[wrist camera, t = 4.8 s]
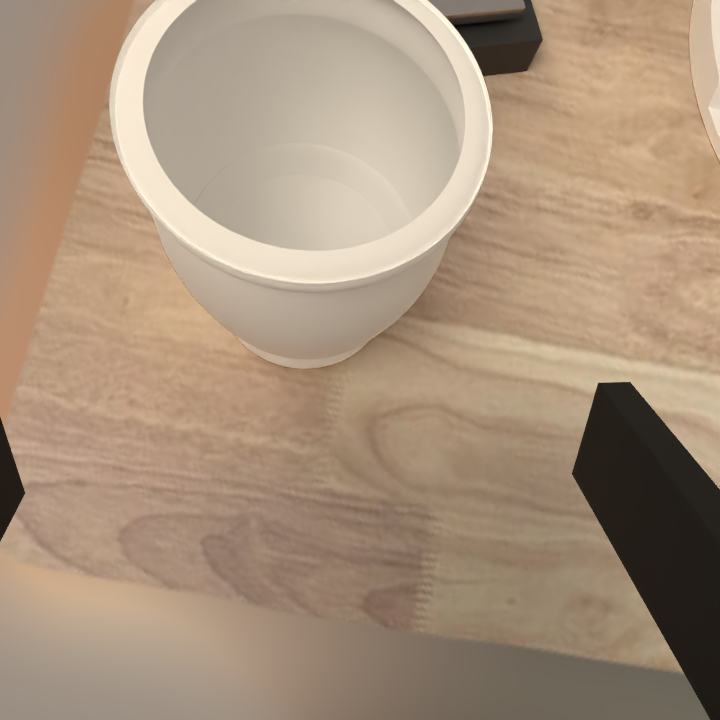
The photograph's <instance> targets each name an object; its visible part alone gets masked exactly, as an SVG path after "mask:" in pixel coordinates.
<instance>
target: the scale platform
mask: <svg viewBox="0 0 720 720" xmlns="http://www.w3.org/2000/svg"><path fill="white" fill-rule="evenodd" d="M428 1H429V2H430V3H431V4H432V5H433V6H435V7H436V8H437V9H438V10H439V11H440V12H441V13H442V14H443V15H444V16H445V17H446V18H447V19H448V20H449V22H450V23H451V24H452V25H458V24H468V23H478V22H488V21H498V20H508V19H518V18H521V16H522V14H523V12H524V9H525V3H524V0H428Z"/></svg>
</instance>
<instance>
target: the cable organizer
mask: <svg viewBox="0 0 720 720" xmlns="http://www.w3.org/2000/svg"><path fill="white" fill-rule="evenodd" d="M689 48H690V65H691V72H692V80H693V86H694V90H695V94H696V99H697V103H698V107H699V111H700V114H701V117H702V120H703V123H704V125H705V128H706V131H707V134H708V137H709V139H710V141H711V143H712V146H713V148H714V150H715V153H716V155H717V157H718V159H719V161H720V0H694V1H693V6H692V12H691V20H690V33H689Z"/></svg>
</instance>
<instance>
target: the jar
mask: <svg viewBox="0 0 720 720" xmlns="http://www.w3.org/2000/svg"><path fill="white" fill-rule="evenodd" d="M109 110H110V123H111V130H112V135H113V140H114V144H115V147H116V151H117V154H118V156H119V159H120V162H121V164H122V166H123V169H124V171H125V173H126V175H127V177H128V179H129V181H130V182H131V184H132V186H133V188H134V190H135V192H136V193H137V195H138V197H139V198H140V200H141V201H142V203H143V205H144V206H145V207H146V209H147V210H148V212H149V213H150V214H151V216H152V217H153V218H154V222H155V225H156V229H157V232H158V235H159V237H160V240H161V243H162V245H163V248H164V250H165V252H166V254H167V256H168V259H169V261H170V262H171V264H172V266H173V268H174V270H175V272H176V273H177V275H178V276H179V278H180V280H181V281H182V283H183V284H184V285H185V287H186V288H187V290H188V291H189V292H190V293H191V295H192V296H193V297H194V298H195V300H196V301H197V302H198V303H199V304H200V305H201V306H202V307H203V308H204V309H205V310H206V311H207V312H208V313H209V314H210V315H211V316H212V317H213V318H214V319H215V320H217V321H218V322H219V323H220V324H222V325H223V326H224V327H226V328H227V329H228V330H230V331H231V332H232V333H233V334H234V335H235V337H236V338H237V339H238V340H239V341H240V342H241V343H242V344H243V345H244V346H245V347H246V348H248V349H249V350H250V351H251V352H253V353H254V354H256V355H258V356H259V357H261V358H263V359H265V360H267V361H269V362H272V363H274V364H277V365H281V366H285V367H290V368H298V369H313V368H321V367H325V366H329V365H333V364H336V363H338V362H341V361H343V360H345V359H347V358H349V357H350V356H352V355H353V354H355V353H356V352H358V351H359V350H360V349H361V348H362V347H364V346H365V345H366V344H367V342H368V341H369V340H370V339H372V338H373V337H375V336H376V335H378V334H380V333H381V332H383V331H384V330H385V329H387V328H388V327H389V326H391V325H392V324H393V323H395V322H396V321H397V320H398V319H399V318H400V317H401V316H402V315H403V314H404V313H405V312H406V311H407V310H408V309H409V308H410V307H411V306H412V305H413V304H414V303H415V302H416V300H417V299H418V298H419V297H420V295H421V294H422V293H423V291H424V290H425V288H426V287H427V285H428V284H429V282H430V281H431V279H432V277H433V275H434V274H435V272H436V270H437V268H438V266H439V264H440V262H441V260H442V257H443V255H444V253H445V250H446V247H447V245H448V242H449V239H450V237H451V236H452V235H453V233H454V232H455V231H456V230H457V228H458V227H459V226H460V224H461V223H462V222H463V220H464V219H465V217H466V216H467V214H468V213H469V211H470V209H471V208H472V206H473V204H474V202H475V200H476V198H477V196H478V193H479V191H480V188H481V186H482V183H483V180H484V177H485V173H486V170H487V167H488V163H489V158H490V153H491V146H492V132H493V126H492V112H491V105H490V99H489V95H488V91H487V87H486V84H485V81H484V78H483V75H482V73H481V70H480V68H479V66H478V64H477V62H476V60H475V58H474V56H473V54H472V52H471V50H470V49H469V47H468V45H467V44H466V42H465V41H464V39H463V38H462V37H461V35H460V34H459V32H458V31H457V30H456V29H455V27H454V26H453V25H452V24H451V23H450V22H449V20H448V19H447V18H446V17H445V16H444V15H443V14H442V13H441V12H440V11H439V10H438V9H437V8H436V7H435V6H433V5H432V4H431V3H430V2H429V1H428V0H155V1H154V2H153V3H152V4H151V5H150V6H149V7H148V8H147V10H146V11H145V12H144V13H143V14H142V15H141V17H140V18H139V19H138V21H137V22H136V23H135V25H134V26H133V28H132V29H131V31H130V33H129V34H128V36H127V38H126V40H125V42H124V44H123V46H122V48H121V50H120V53H119V55H118V58H117V61H116V64H115V68H114V72H113V76H112V81H111V88H110V101H109Z"/></svg>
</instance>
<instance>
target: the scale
mask: <svg viewBox="0 0 720 720" xmlns="http://www.w3.org/2000/svg"><path fill="white" fill-rule="evenodd" d="M524 3H525V9H524V12H523V14H522V16H521V18H518V19H508V20H498V21H488V22H478V23H468V24H458V25H453V26H454V27H455V29H456V30H457V31H458V32H459V34H460V35H461V37H462V38H463V39H464V41H465V42H466V44H467V45H468V47H469V49H470V50H471V52H472V54H473V56H474V58H475V60H476V62H477V64H478V66H479V68H480V70H481V73H482V75H483V76H485V75H493V74H502V73H511V72H520V71H526V70H527V69H528V67H529V65H530V63H531V61H532V59H533V57H534V55H535V53H536V52H537V50H538V48H539V46H540V44H541V42H542V40H543V39H542V35H541V32H540V29H539V25H538V22H537V19H536V16H535V12H534V9H533V6H532V2H531V0H524Z"/></svg>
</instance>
